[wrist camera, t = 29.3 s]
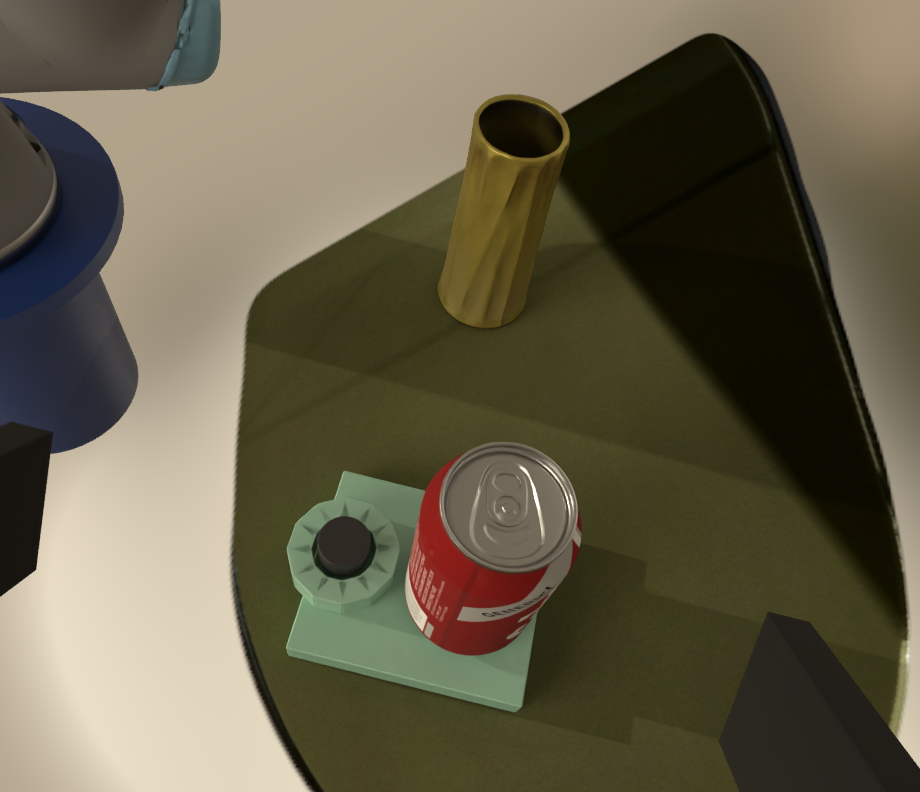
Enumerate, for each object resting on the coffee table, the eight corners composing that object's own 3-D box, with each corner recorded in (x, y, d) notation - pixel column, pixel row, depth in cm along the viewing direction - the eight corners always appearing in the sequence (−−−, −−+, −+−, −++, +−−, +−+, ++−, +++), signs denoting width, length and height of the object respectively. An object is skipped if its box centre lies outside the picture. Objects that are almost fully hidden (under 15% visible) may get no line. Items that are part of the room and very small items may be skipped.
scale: (263, 649, 39) (257, 633, 36) (322, 477, 44) (321, 449, 42) (515, 713, 39) (529, 701, 36) (545, 532, 44) (559, 509, 42)
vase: (467, 343, 51) (506, 180, 38) (420, 277, 53) (443, 104, 41) (542, 310, 53) (601, 146, 41) (494, 248, 55) (536, 76, 43)
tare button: (311, 569, 39) (310, 558, 37) (327, 521, 40) (326, 510, 39) (361, 581, 39) (362, 572, 37) (375, 533, 40) (376, 522, 39)
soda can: (399, 655, 38) (418, 582, 28) (407, 527, 42) (427, 420, 32) (532, 663, 39) (599, 594, 29) (529, 536, 42) (588, 434, 32)
